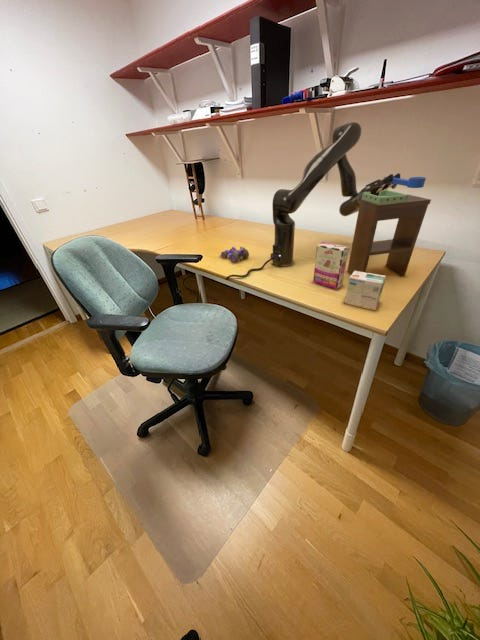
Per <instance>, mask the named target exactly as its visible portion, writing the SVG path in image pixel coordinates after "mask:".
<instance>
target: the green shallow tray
mask: <svg viewBox="0 0 480 640" xmlns="http://www.w3.org/2000/svg"><path fill="white" fill-rule="evenodd" d="M408 195H409V194H408ZM408 195H407V194H406V193H403V192H398V191H394V190H389V189H387V190H382V191H380V192H379V196H376V195H372V194H371V192H363V193H362V198H361V199H362V200H365V201H368V202H371V203H375V204H378V205H386V204H395V203H404V202H407V198H408Z"/></svg>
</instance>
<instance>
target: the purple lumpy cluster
mask: <svg viewBox="0 0 480 640" xmlns="http://www.w3.org/2000/svg"><path fill="white" fill-rule="evenodd" d="M219 257H220V258H222V259H224V260H225V259H227V260H230V262H231V263H232V264H236V263H239V261H242V260H245V259H248V258H249V257H250V253H249V250H248V249H246V247H243V246H239V249H237V248H236V247H234V246H231V248H230V249H225V250H224V251H222V252H221V253H220V255H219Z"/></svg>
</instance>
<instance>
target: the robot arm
mask: <svg viewBox="0 0 480 640" xmlns="http://www.w3.org/2000/svg"><path fill="white" fill-rule="evenodd" d="M361 136H362V127H361V124H360V123H359V122H356V121H351V122H348V123H344V124H342V125H339V126H336V127H335V128H334V130H333V132H332V135H331V144H330V145H328V146H327V147H325V148H323V149H322V150H320V151H319V152H318V153H317V154H315V155H314V156H313V157H312V158H311V160H309V162H308V163H307V164H306V166H305V167H304V170H303V173H302V179H301V180H300V182H299V183H298V184H297V185H296V186H295V187H294V188H293V189H283V188H281V189H280V188H279V189H277V190H276V191H275V193H274V195H273V198H272V204H271V205H272V206H271V207H272V222H273V225H274V244H272V252H271V253H270V258H269V259H268V260H266V261H265V262H264V263H263V264H262V265H261V266H260V267H259V268H257V267H256V268H250V269H249V270H248V271H247V273H246V274H229V275H228V276H226V277H225V280H226V281H227V280H228V279H230V278H232V277H236V278H246V277H247V276H249V275H250V273H251V272H252V271H261V270H263V269H264V268H265V266H266V265H267V264H268V263H270V262H271V261H272V264H273V265H275V266H277V267H278V268H282V267H289V266H292V265H293V264H294V248H295V234H296V233H295V232H296V231H295V229H296V221H295V220H294V219H293V218H291V216H290V215H291V214H294V213H295V212H297V211H298V209H299V208H300V207H301V206H302V204H303V203H304V202H305V201H306V199H307V198H308V197H309V195H310V194H311V192H312V191H314V189H315V188H316V186H317V185H318V184H319V183H320V182H321V181H322V180H323V179H324V178H325V177H326V176H327V174H328V173H329V172H330V171H331V170H332V169H333V168H334V167H335V165H336V166H337V169H338V174H339V181H340V191H341V196H342V197H343V198H348V197H349V199H346V200H345V201H343V202H341V204H340V206H339V208H338V211H339V214H340V216H342V217H348V216H350V215H353V214H357V213H358V212H359V206H360V204H359V202H360V199H361V198H362V193H363V192H371V194H372V195H376V196H379V192H380V191H382V190H389V189H390V188H391V189H392V190H394V189H396V187H398V184H393V183H389V182H390V181H392V180H393V177H395V178H401V173H396V174H395V175H394V174H393V173H391V174H389V175H388V176H385V177H386V178H384V177H383V178H381V179H380V178H378V179H376V180H374V181H372V182H370V183H367V184H366V185H365V187H362V189H360V191H359V192H358V190H357V176H356V172H355V170H354V168H353V167H352V165H351V163H350V162H349V159H348V157H347V156H348V155H347V153H348V152H349V151H350V150H352V149H353V148H354V147H356V145H357V144H358V142H359V141H360V139H361Z"/></svg>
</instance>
